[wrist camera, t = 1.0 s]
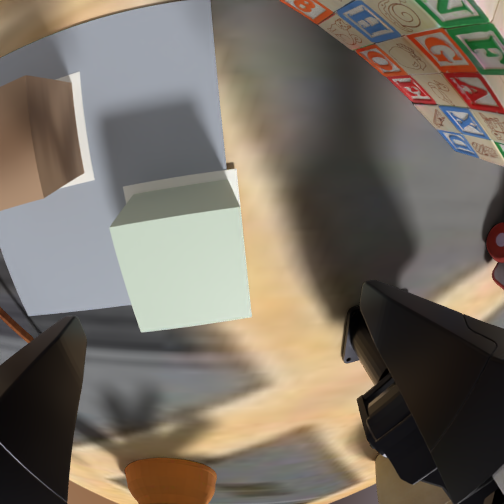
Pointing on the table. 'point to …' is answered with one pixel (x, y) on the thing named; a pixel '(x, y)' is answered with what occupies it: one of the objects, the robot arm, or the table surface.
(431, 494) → the plant pot
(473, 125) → the stack of blocks
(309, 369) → the table surface
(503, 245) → the toy fire truck
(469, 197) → the table surface
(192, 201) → the sage block
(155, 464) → the decorative plant
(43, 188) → the walnut block
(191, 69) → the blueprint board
